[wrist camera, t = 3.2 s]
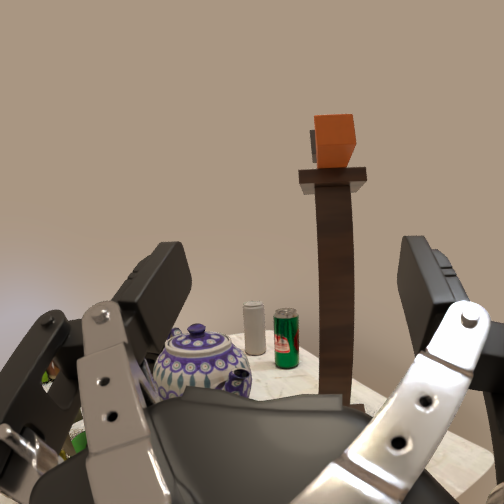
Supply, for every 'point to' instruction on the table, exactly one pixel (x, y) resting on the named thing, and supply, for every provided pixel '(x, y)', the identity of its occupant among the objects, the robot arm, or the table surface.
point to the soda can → (286, 338)
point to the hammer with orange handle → (332, 140)
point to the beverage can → (254, 327)
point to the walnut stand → (335, 273)
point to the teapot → (201, 364)
